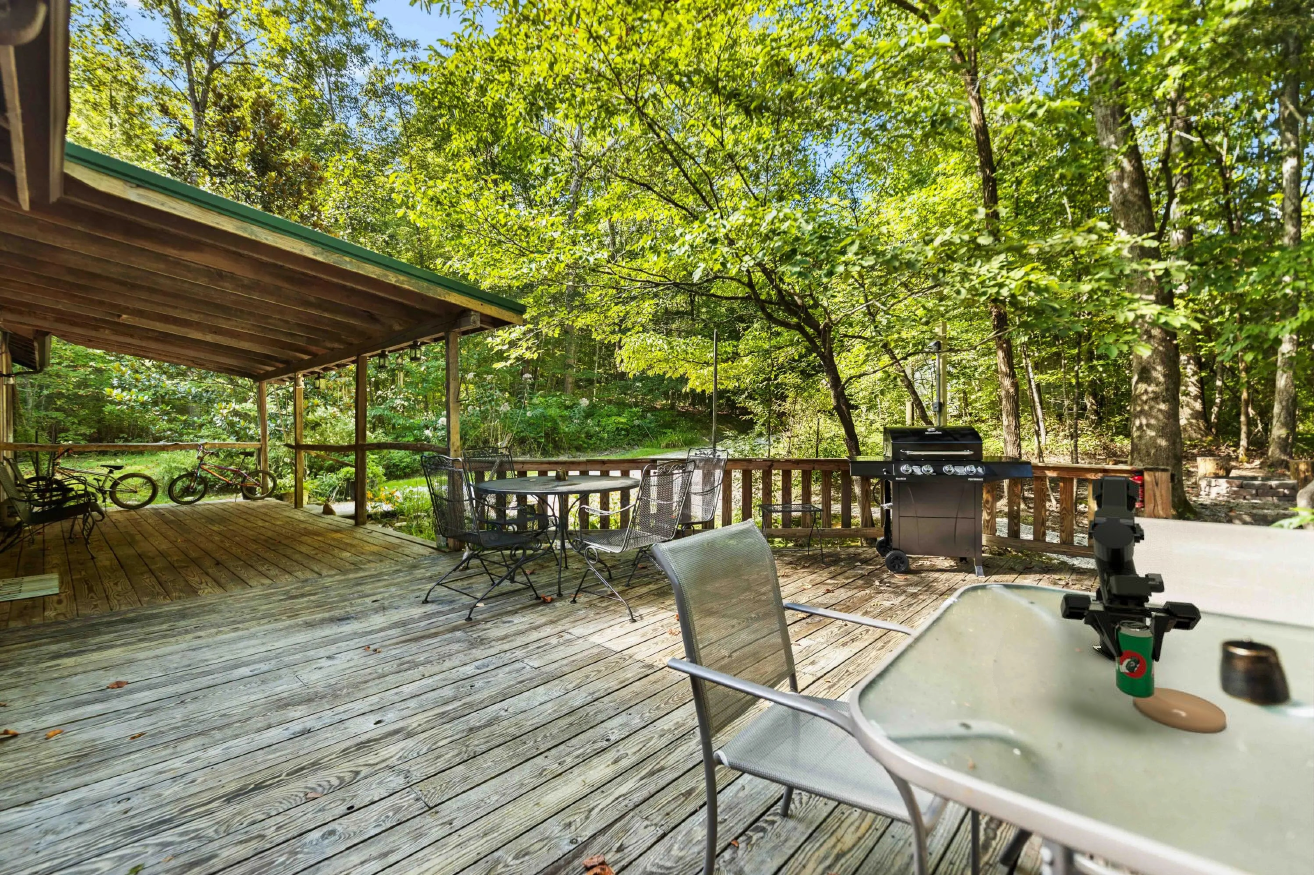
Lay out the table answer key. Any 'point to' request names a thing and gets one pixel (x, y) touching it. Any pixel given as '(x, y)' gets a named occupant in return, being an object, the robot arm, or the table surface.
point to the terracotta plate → (1182, 711)
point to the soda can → (1135, 659)
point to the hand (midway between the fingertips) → (1137, 658)
